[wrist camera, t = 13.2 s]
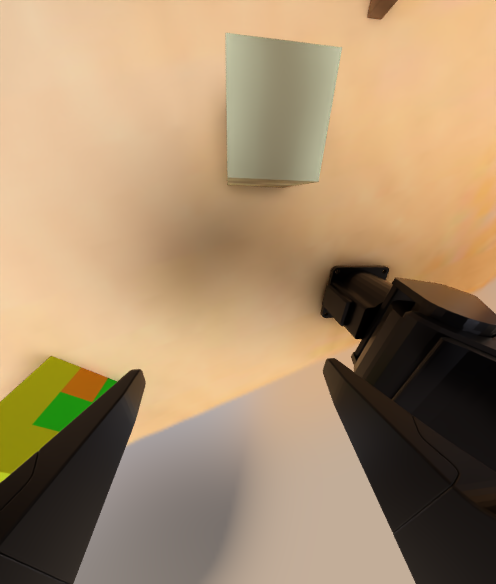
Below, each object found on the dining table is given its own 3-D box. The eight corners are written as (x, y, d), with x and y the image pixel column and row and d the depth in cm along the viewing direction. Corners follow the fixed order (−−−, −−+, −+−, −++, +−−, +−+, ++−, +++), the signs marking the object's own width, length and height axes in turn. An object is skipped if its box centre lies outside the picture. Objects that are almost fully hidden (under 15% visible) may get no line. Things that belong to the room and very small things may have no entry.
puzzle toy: (23, 399, 25) (-90, 511, 16) (51, 355, 22) (-66, 460, 13) (100, 422, 29) (43, 523, 20) (132, 387, 26) (83, 486, 17)
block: (292, 112, 14) (341, 47, 8) (284, 187, 16) (318, 181, 10) (226, 107, 14) (225, 32, 8) (227, 185, 16) (227, 177, 10)
